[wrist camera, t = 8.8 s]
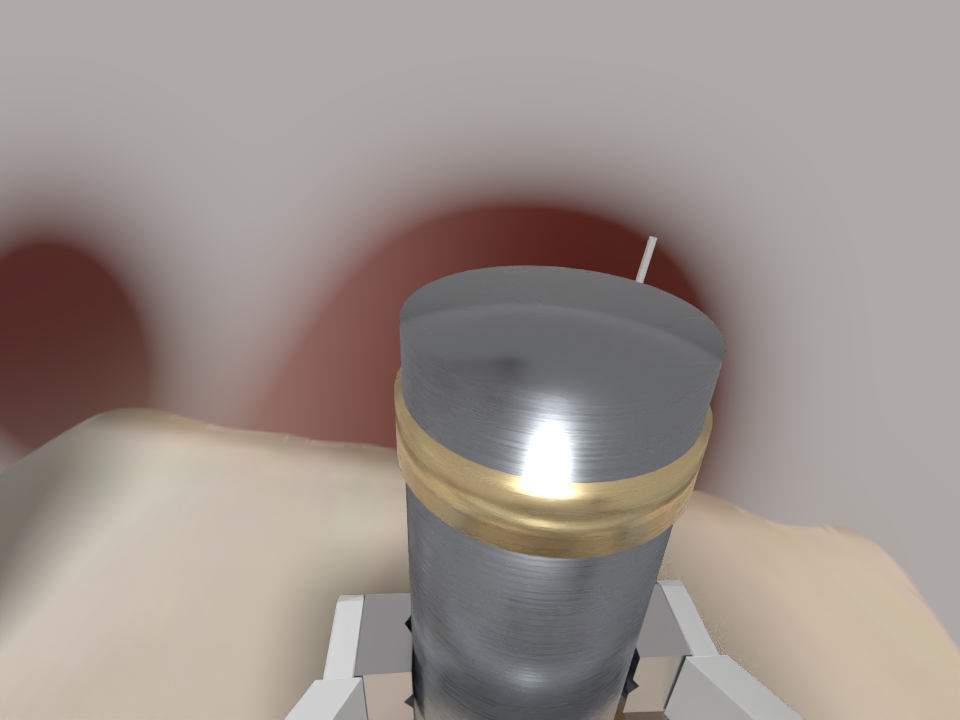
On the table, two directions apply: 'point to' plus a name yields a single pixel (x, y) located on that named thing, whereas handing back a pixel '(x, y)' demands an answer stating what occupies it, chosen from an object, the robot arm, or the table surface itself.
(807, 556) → the table surface
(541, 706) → the gold-banded metal cylinder
